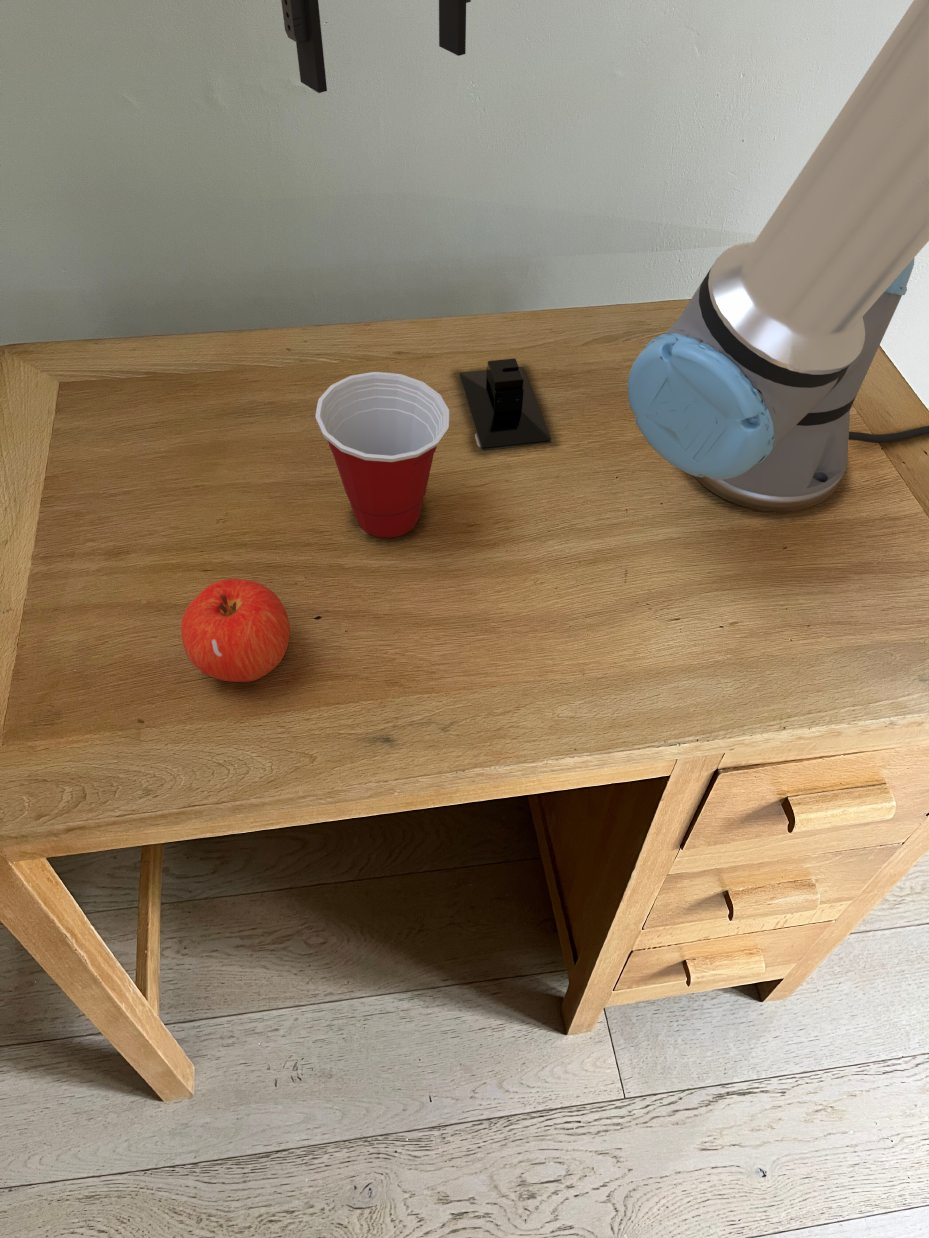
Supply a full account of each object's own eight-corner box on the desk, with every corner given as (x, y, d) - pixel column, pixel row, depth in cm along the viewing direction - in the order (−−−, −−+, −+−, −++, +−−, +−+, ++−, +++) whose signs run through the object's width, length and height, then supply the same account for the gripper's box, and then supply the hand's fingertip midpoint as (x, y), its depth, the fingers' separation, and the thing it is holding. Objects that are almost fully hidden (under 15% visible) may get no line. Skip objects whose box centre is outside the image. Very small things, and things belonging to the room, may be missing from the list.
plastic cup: (435, 569, 74) (433, 463, 65) (315, 549, 75) (296, 442, 66) (460, 485, 81) (462, 378, 72) (350, 468, 82) (337, 360, 73)
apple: (279, 708, 65) (261, 645, 59) (178, 691, 66) (149, 627, 60) (309, 627, 70) (295, 560, 64) (214, 612, 71) (192, 546, 65)
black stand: (550, 443, 85) (555, 405, 81) (478, 451, 84) (480, 413, 80) (522, 368, 93) (525, 330, 89) (456, 375, 92) (456, 337, 88)
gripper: (485, -330, 60) (477, 24, 76) (152, -315, 50) (225, 87, 67) (557, -320, 56) (532, 49, 73) (212, -302, 46) (274, 120, 63)
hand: (385, 68), depth 70 cm, fingers open, 13 cm apart
